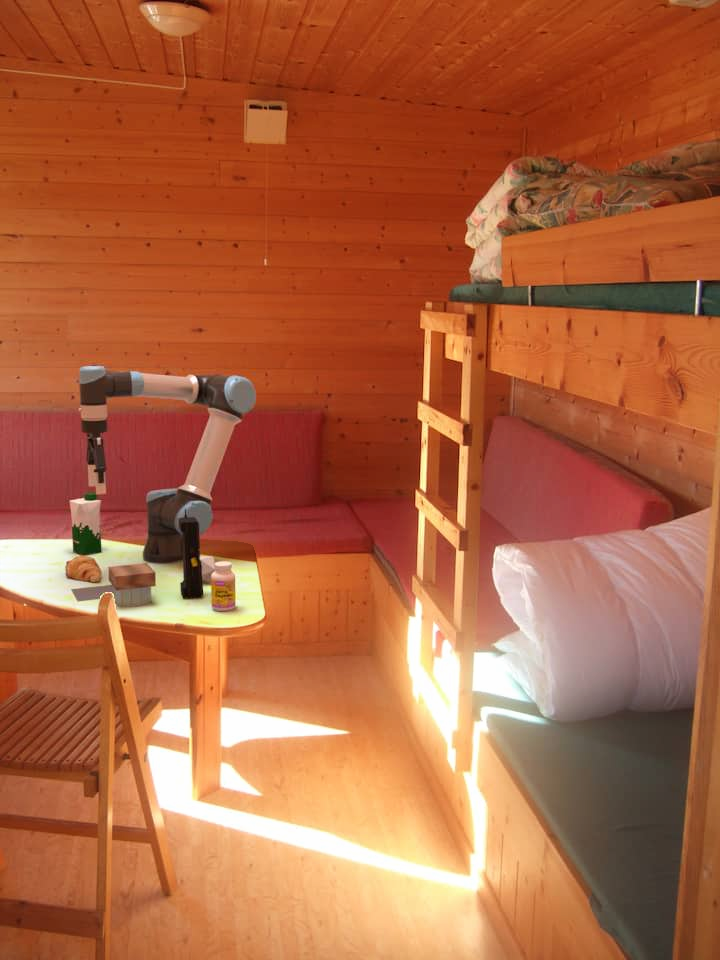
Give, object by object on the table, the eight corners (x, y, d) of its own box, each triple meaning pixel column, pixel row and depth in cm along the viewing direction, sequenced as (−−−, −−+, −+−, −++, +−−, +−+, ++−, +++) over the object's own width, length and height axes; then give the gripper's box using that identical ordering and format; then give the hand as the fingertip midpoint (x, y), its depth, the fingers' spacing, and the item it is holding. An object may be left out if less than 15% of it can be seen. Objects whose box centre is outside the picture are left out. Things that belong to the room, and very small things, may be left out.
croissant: (107, 593, 298) (117, 569, 300) (79, 584, 292) (90, 559, 293) (76, 577, 314) (86, 554, 315) (49, 568, 308) (60, 544, 309)
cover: (147, 576, 285) (146, 562, 284) (155, 586, 275) (155, 572, 274) (109, 580, 280) (108, 566, 280) (116, 590, 271) (115, 576, 270)
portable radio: (204, 598, 282) (202, 513, 277) (183, 600, 280) (181, 514, 276) (201, 591, 289) (199, 508, 285) (180, 592, 287) (178, 509, 283)
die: (201, 589, 293) (220, 562, 294) (179, 573, 295) (198, 547, 296) (209, 591, 301) (227, 565, 302) (187, 575, 303) (205, 550, 304)
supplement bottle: (211, 612, 269) (210, 567, 267) (211, 605, 276) (210, 560, 274) (236, 611, 270) (235, 566, 268) (235, 604, 277) (234, 560, 275)
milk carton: (105, 552, 334) (103, 494, 330) (80, 556, 328) (78, 498, 324) (93, 547, 340) (90, 490, 337) (68, 551, 334) (66, 494, 331)
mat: (115, 585, 295) (115, 584, 295) (123, 597, 283) (123, 596, 283) (71, 590, 289) (71, 589, 289) (77, 602, 278) (77, 601, 278)
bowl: (146, 594, 285) (146, 576, 284) (154, 604, 276) (153, 585, 275) (111, 598, 281) (111, 580, 280) (118, 608, 272) (117, 589, 271)
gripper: (74, 415, 298) (78, 483, 302) (87, 424, 276) (91, 498, 279) (99, 414, 301) (102, 482, 305) (114, 423, 279) (117, 496, 283)
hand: (97, 489), depth 292 cm, fingers open, 13 cm apart
